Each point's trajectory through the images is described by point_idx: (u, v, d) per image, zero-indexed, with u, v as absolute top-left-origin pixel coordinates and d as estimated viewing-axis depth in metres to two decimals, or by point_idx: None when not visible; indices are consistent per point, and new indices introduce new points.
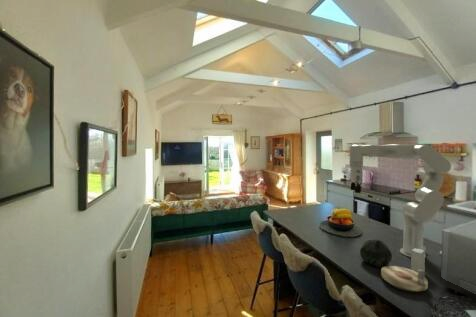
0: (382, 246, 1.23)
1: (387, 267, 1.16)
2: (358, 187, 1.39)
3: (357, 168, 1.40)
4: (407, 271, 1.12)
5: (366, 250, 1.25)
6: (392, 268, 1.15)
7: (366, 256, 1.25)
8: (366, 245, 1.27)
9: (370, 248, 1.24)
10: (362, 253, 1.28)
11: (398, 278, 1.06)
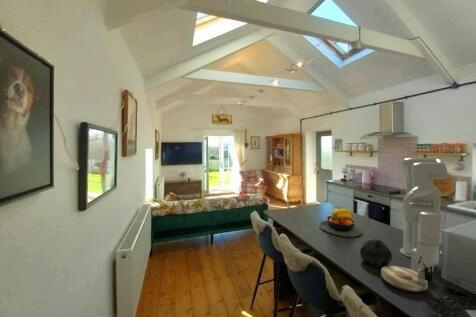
0: (382, 246, 1.23)
1: (387, 267, 1.16)
2: None
3: None
4: (407, 271, 1.12)
5: (366, 250, 1.25)
6: (392, 268, 1.15)
7: (366, 256, 1.25)
8: (366, 245, 1.27)
9: (370, 248, 1.24)
10: (362, 253, 1.28)
11: (398, 278, 1.06)
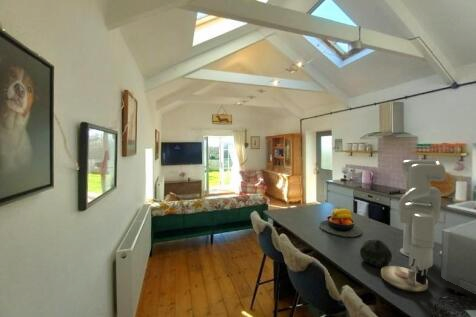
0: (382, 246, 1.23)
1: (396, 267, 1.16)
2: None
3: None
4: (415, 275, 1.09)
5: (366, 250, 1.25)
6: (400, 269, 1.14)
7: (366, 256, 1.25)
8: (366, 245, 1.27)
9: (370, 248, 1.24)
10: (362, 253, 1.28)
11: (392, 275, 1.09)
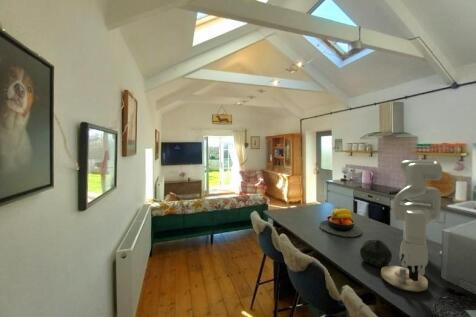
0: (382, 246, 1.23)
1: (404, 268, 1.15)
2: None
3: None
4: (418, 278, 1.06)
5: (366, 250, 1.25)
6: (407, 270, 1.13)
7: (366, 256, 1.25)
8: (366, 245, 1.27)
9: (370, 248, 1.24)
10: (362, 253, 1.28)
11: (391, 272, 1.11)
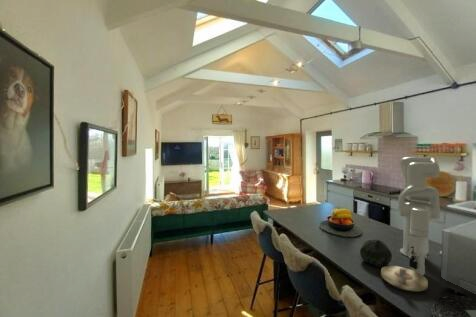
0: (382, 246, 1.23)
1: (404, 268, 1.15)
2: None
3: None
4: (418, 278, 1.06)
5: (366, 250, 1.25)
6: (407, 270, 1.13)
7: (366, 256, 1.25)
8: (366, 245, 1.27)
9: (370, 248, 1.24)
10: (362, 253, 1.28)
11: (391, 272, 1.11)
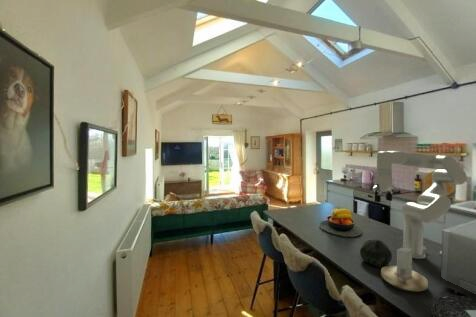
0: (382, 246, 1.23)
1: None
2: None
3: None
4: (418, 278, 1.06)
5: (366, 250, 1.25)
6: None
7: (366, 256, 1.25)
8: (366, 245, 1.27)
9: (370, 248, 1.24)
10: (362, 253, 1.28)
11: (391, 272, 1.11)
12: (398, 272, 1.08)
